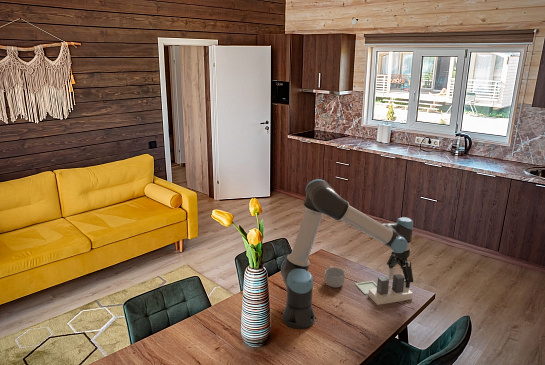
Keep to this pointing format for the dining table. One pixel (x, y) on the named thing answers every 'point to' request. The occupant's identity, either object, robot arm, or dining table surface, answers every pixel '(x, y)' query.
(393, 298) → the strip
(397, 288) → the plug
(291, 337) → the dining table surface
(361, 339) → the dining table surface
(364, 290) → the tray
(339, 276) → the teacup
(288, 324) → the robot arm
